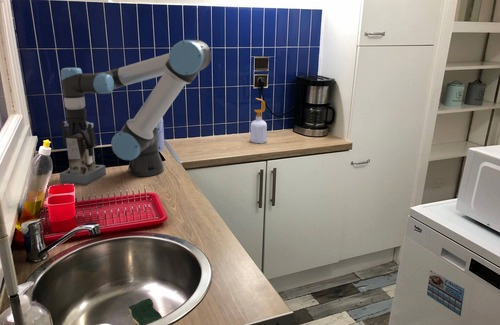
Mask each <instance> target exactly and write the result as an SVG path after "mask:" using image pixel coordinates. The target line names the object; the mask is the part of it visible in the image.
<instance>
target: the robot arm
mask: <svg viewBox="0 0 500 325" xmlns="http://www.w3.org/2000/svg"><path fill="white" fill-rule="evenodd" d="M211 58H212V52H211V49H210V47H209V46H208V44H207V43H206V42H204V41H202V40H199V39H184V40H183V39H182V40H180V41H178V42H177V43H175V44H174V45H173V46H172V47H171V49H170V51H169V52H168V53H165V54H162V55H158V56H155V57H151V58H149V59H145V60H141V61H139V62H135V63H132V64H131V63H130V64H128V65H126V66H125V65H124V66H122V67H118V68H114V69H112V70H108V71H102V72H95V73H83V71H82V69H81V68H80V67H64V68H61V70H60V76H61V79H60V80H61V86H62V92H63V103H64V107H65V117H66V118H67V119H66V120H64V121H61V122H60V124H61V125H60V126H61V128H62V129H61V130H62V144H63V146H64V147H67V142H66V138H67V137H70V136H74V135H76V134H77V132H79V133H81V134H82V137H84V139H85V144H86V146H87V148H86V157H87V164H88V165H89V164H91V163H93V160H92V156H93V149H94V148H96V147H97V146H98V142H97V137H96V133H95V123H94V122H89V121H88V120H87V116H88V115H87V108H86V99H85V94H99V95H107V94H111V93H112V92H113V90H116V89H119V88H122V87H125V86H128V85H132V84H136V83H140V82H144V81H147V80H151V79H155V78H157V77H160V78H159V80H158V82H157V83H156V85H155V86H154V88H153V89H152V91H151V92H150V94H149V95H148V97H147V98H146V99H145V102H143V104H142V105H141V107H140V108H139V110H138V111H137V113H136V115H135V116H134V117H133V118H130V119H128V120H127V121H126V122H125V124H124V125H123V127H122V128H121V130H120V131H118V132H117V133H115V134H114V135H113V137H112V139H111V143H110V145H111V150H112V152H113V153H114V154H115V156H116V157H118V158H119V159H121V160H124V161H129V164H128V173H129V175H131V176H134V177H151V176H156V175H161V174H162V173H163V172H164V170H165V167H164V163H163V161H162V158H161V156H160V152H159V147H158V127H157V124H158V123H159V121H160V120H161V118H164V116H165V114H166V112H167V111H168V110H169V108H170V107H171V106H172V104H173V102H175V99H176V98H177V97H178V96H179V94H180V93H181V91H182V90H183V88H184V87H185V85H189V84H192V82H194V80H195V78H196V77H197V76H198V74H199V73H200V71H202V70H204V69H206V68H208V66H209V64H210V63H211ZM88 134H89V135H88Z"/></svg>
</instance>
